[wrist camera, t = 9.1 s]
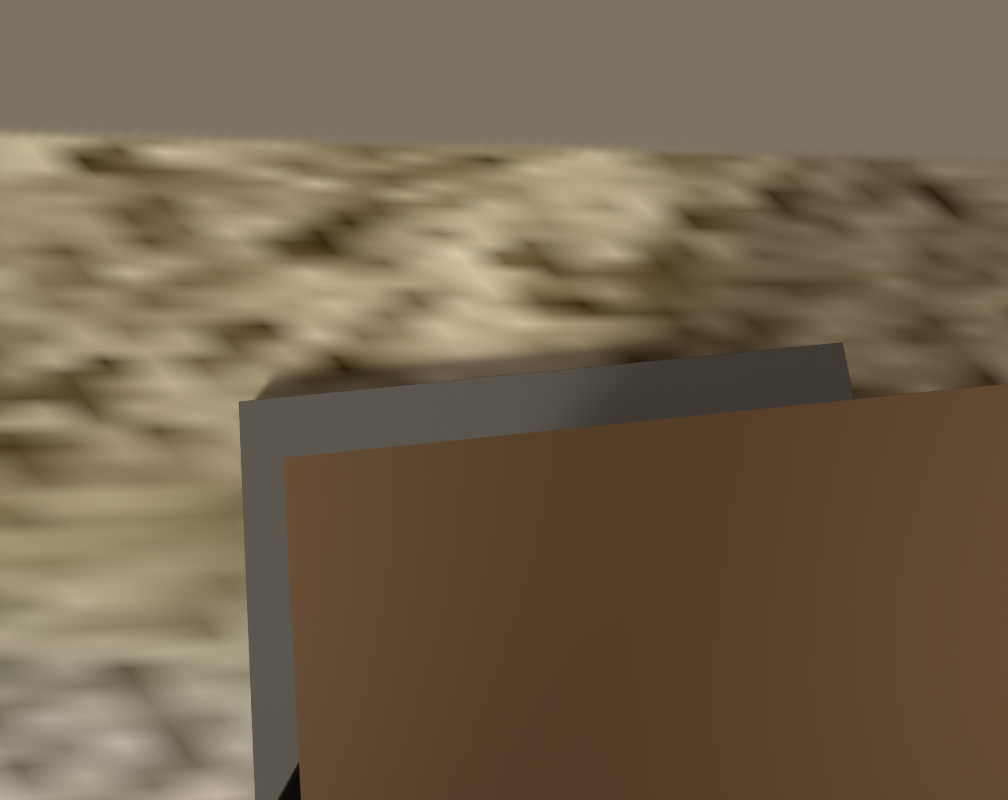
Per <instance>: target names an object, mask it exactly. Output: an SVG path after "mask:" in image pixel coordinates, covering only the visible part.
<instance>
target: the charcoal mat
mask: <svg viewBox="0 0 1008 800" xmlns="http://www.w3.org/2000/svg"><path fill="white" fill-rule="evenodd" d="M844 400H854V397H853V392H852V387H851V383H850V378H849V373H848V368H847V363H846V358H845V353H844V348H843V343H832V344H821V345H811V346H801V347H791V348H781V349H770V350H760V351H750V352H740V353H730V354H719V355H709V356H699V357H689V358H679V359H668V360H658V361H648V362H638V363H628V364H617V365H607V366H597V367H587V368H577V369H566V370H556V371H546V372H536V373H526V374H515V375H505V376H495V377H485V378H475V379H464V380H454V381H444V382H434V383H424V384H413V385H403V386H393V387H383V388H373V389H362V390H352V391H342V392H332V393H322V394H311V395H301V396H291V397H281V398H271V399H260V400H250V401H240V402H239V419H240V443H241V467H242V491H243V515H244V539H245V563H246V587H247V611H248V636H249V660H250V684H251V708H252V732H253V756H254V780H255V800H277V799H278V798H279V796H280V794H281V792H282V790H283V789H284V787H285V785H286V783H287V782H288V780H289V778H290V776H291V774H292V773H293V771H294V769H295V767H296V765H297V764H298V762H299V751H298V732H297V713H296V694H295V675H294V656H293V637H292V618H291V599H290V580H289V561H288V542H287V523H286V504H285V485H284V466H283V458H287V457H297V456H306V455H316V454H326V453H336V452H345V451H355V450H365V449H375V448H385V447H394V446H404V445H414V444H424V443H433V442H443V441H453V440H463V439H473V438H482V437H492V436H502V435H512V434H521V433H531V432H541V431H551V430H561V429H570V428H580V427H590V426H600V425H609V424H619V423H629V422H639V421H649V420H658V419H668V418H678V417H688V416H697V415H707V414H717V413H727V412H737V411H746V410H756V409H766V408H776V407H785V406H795V405H805V404H815V403H825V402H834V401H844Z"/></svg>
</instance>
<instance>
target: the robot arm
mask: <svg viewBox="0 0 1008 800" xmlns="http://www.w3.org/2000/svg"><path fill="white" fill-rule="evenodd" d="M277 800H301V789H300V770H299V762H298V764H297V765H296V767H295V769H294V771H293V773H292V774H291V776H290V778H289V780H288V782H287V783H286V785H285V787H284V789H283V790H282V792H281V794H280V796H279V798H278V799H277Z"/></svg>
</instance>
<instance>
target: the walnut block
mask: <svg viewBox="0 0 1008 800" xmlns="http://www.w3.org/2000/svg"><path fill="white" fill-rule="evenodd" d="M283 466H284V485H285V504H286V523H287V542H288V561H289V580H290V599H291V618H292V637H293V656H294V675H295V694H296V713H297V732H298V751H299V770H300V789H301V800H1008V384H1001V385H991V386H981V387H971V388H962V389H952V390H942V391H932V392H922V393H913V394H903V395H893V396H883V397H874V398H864V399H854V400H844V401H834V402H825V403H815V404H805V405H795V406H785V407H776V408H766V409H756V410H746V411H737V412H727V413H717V414H707V415H697V416H688V417H678V418H668V419H658V420H649V421H639V422H629V423H619V424H609V425H600V426H590V427H580V428H570V429H561V430H551V431H541V432H531V433H521V434H512V435H502V436H492V437H482V438H473V439H463V440H453V441H443V442H433V443H424V444H414V445H404V446H394V447H385V448H375V449H365V450H355V451H345V452H336V453H326V454H316V455H306V456H297V457H287V458H283Z"/></svg>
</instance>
